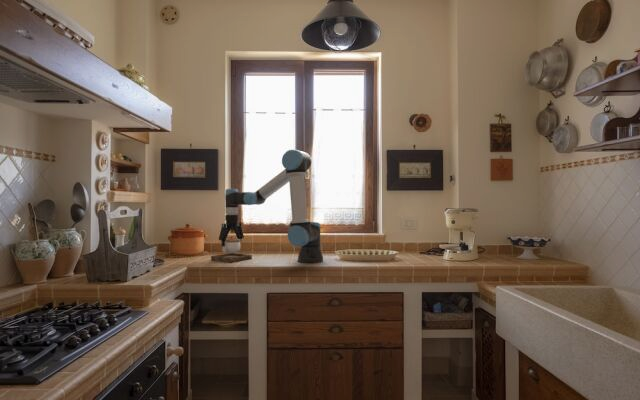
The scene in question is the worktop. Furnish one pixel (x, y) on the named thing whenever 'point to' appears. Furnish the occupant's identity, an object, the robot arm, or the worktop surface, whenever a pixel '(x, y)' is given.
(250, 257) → the walnut tray
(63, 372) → the worktop surface
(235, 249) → the lidded jar
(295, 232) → the robot arm
